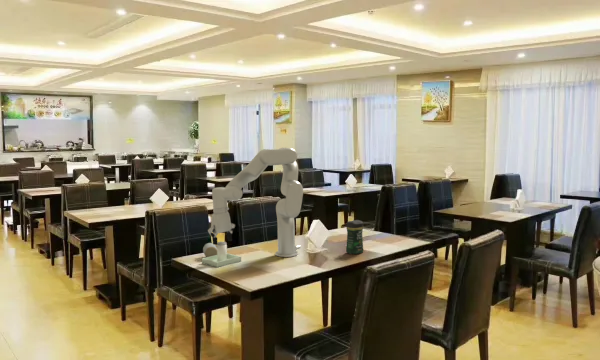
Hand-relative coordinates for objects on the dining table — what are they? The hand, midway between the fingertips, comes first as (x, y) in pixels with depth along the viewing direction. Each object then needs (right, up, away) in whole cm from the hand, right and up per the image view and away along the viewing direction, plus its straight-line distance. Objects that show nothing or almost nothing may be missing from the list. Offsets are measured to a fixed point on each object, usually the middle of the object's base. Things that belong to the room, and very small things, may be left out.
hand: (222, 242), depth 257 cm
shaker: (0, -10, +1) cm, 10 cm away
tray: (0, -11, +1) cm, 11 cm away
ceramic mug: (-7, -10, +12) cm, 17 cm away
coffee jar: (+72, -8, +18) cm, 75 cm away
